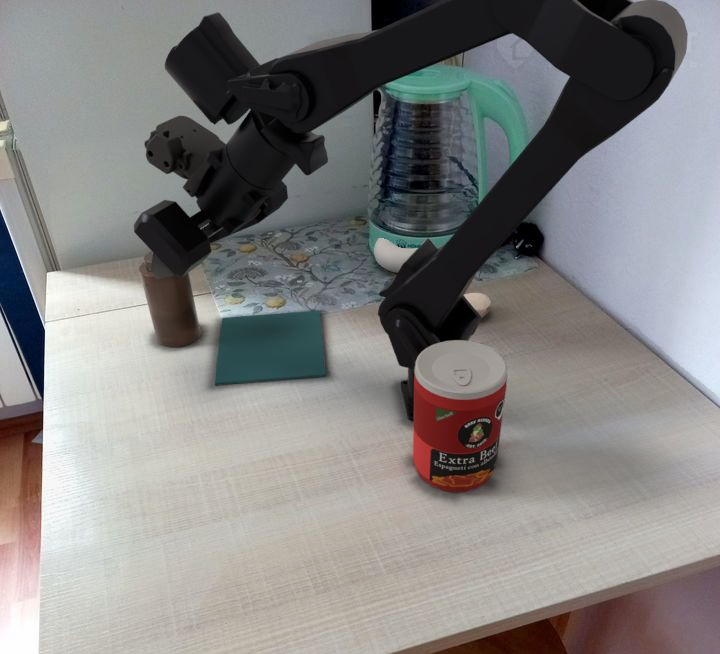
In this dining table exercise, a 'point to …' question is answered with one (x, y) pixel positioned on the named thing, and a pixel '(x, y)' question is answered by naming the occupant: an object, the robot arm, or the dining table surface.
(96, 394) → the dining table surface
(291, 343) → the napkin
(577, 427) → the dining table surface
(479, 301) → the cream clam shell
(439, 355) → the canned food
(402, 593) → the dining table surface
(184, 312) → the pepper mill
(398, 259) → the donut
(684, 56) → the robot arm
